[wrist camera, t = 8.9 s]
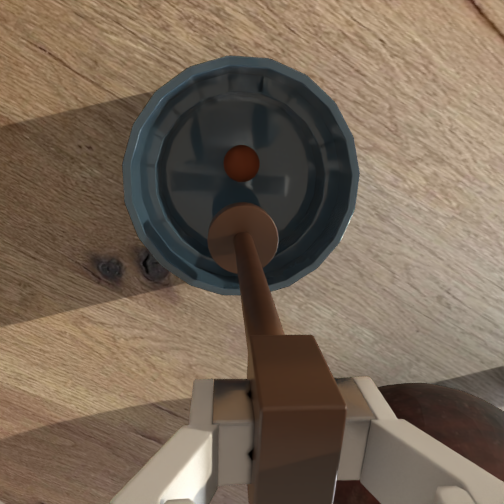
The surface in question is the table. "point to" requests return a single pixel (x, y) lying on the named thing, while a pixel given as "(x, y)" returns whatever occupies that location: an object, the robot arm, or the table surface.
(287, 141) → the bowl
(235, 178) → the ball
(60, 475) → the table surface
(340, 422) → the brown wooden masher
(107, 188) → the table surface
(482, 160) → the table surface
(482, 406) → the jug
